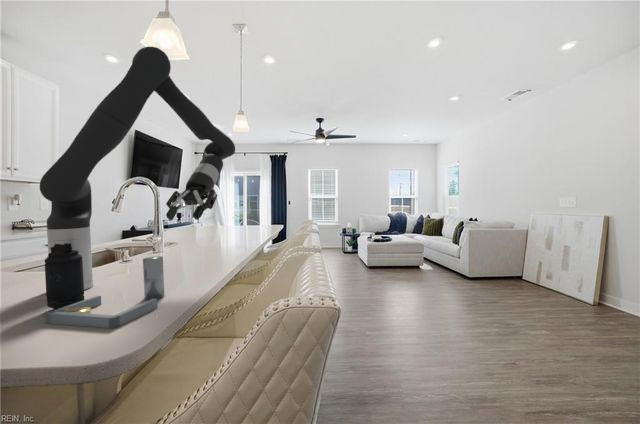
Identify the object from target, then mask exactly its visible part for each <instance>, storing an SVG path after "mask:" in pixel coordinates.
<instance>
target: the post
mask: <svg viewBox="0 0 640 424" xmlns="http://www.w3.org/2000/svg"><path fill="white" fill-rule="evenodd" d="M142 265H143V267H142V269H143V291H144V294H143V295H144V300H145V301H148V300H151V299H157V300H159V299H162V298H164V297H165V275H164V273H165V272H164V256H161V255H159V256H158V255H155V256H147V257H143V258H142Z"/></svg>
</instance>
